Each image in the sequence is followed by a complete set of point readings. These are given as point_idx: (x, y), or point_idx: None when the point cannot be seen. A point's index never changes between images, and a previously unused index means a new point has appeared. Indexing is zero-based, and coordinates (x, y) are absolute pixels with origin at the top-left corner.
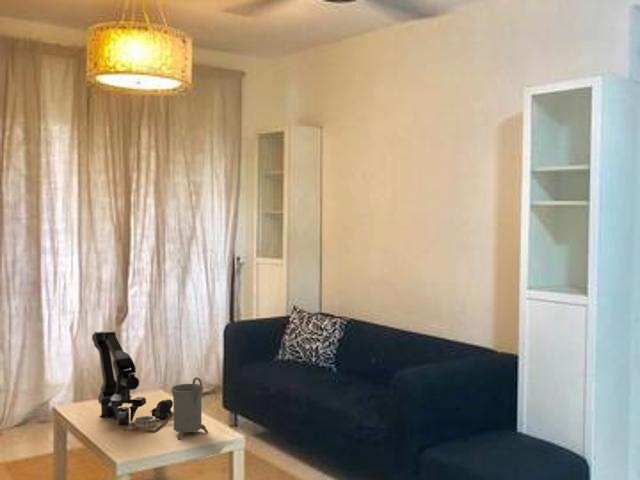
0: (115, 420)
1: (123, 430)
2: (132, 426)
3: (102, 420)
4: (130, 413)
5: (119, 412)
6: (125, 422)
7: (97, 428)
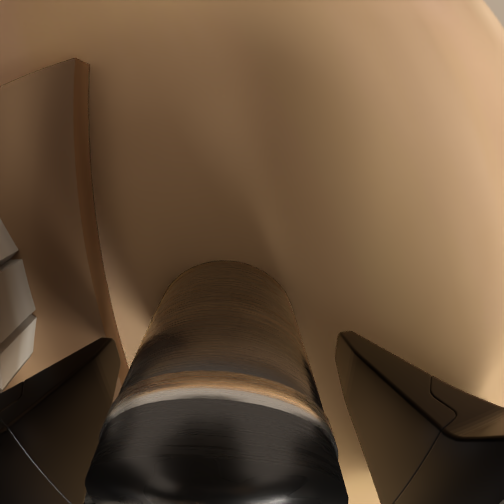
0: (345, 332)
1: (86, 63)
2: (12, 175)
3: (471, 362)
4: (43, 394)
5: (261, 395)
6: (165, 299)
7: (461, 116)
